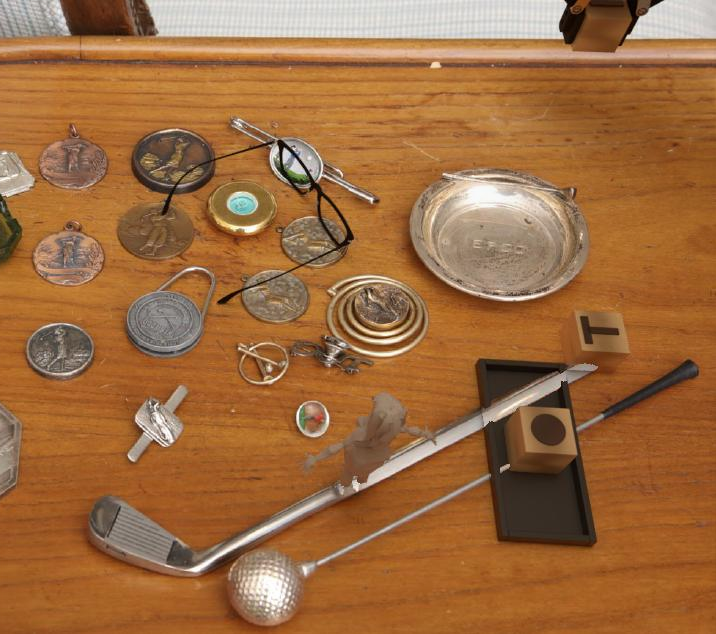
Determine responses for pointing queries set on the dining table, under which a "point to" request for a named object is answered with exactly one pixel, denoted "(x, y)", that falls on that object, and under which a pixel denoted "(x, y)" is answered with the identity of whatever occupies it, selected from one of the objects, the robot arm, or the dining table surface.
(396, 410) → the human figurine
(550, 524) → the letter tray
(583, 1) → the robot arm
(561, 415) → the wooden block with dot
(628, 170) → the dining table surface
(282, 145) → the eyeglasses
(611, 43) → the letter I
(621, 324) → the wooden letter block
